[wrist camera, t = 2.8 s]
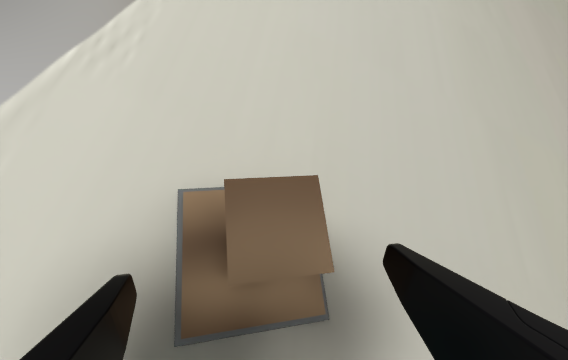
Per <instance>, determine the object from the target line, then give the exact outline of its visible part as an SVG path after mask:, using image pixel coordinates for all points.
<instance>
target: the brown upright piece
mask: <svg viewBox="0 0 568 360" xmlns="http://www.w3.org/2000/svg"><path fill="white" fill-rule="evenodd" d="M224 189H225V190H211V191H192V192H183V243H182V306H181V339H185V338H191V337H196V336H202V335H208V334H214V333H220V332H226V331H231V330H237V329H243V328H249V327H255V326H261V325H266V324H272V323H278V322H284V321H290V320H295V319H301V318H307V317H313V316H319V315H325V314H326V313H325V306H324V300H323V293H322V286H321V280H320V274H323V273H331V272H334V267H333V261H332V255H331V249H330V243H329V238H328V232H327V226H326V220H325V214H324V208H323V202H322V196H321V190H320V184H319V179H318V175H313V176H291V177H268V178H245V179H224Z"/></svg>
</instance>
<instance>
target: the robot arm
mask: <svg viewBox="0 0 568 360" xmlns="http://www.w3.org/2000/svg"><path fill="white" fill-rule="evenodd" d="M383 266H384V268H385V270H386V272H387V275H388V277H389V279H390V281H391V283H392V285H393V287H394V289H395V291H396V293H397V296H398V298H399V300H400V302H401V304H402V305H403V307H404V309H405V311H406V312H407V314H408V316H409V317H410V319H411V321H412V322H413V324H414V326H415V327H416V329H417V331H418V333H419V334H420V336H421V338H422V339H423V341H424V343H425V344H426V346H427V348H428V349H429V351H430V353H431V354H432V356H433V358H434V359H435V360H568V330H567V329H565V328H562V327H560V326H558V325H556V324H554V323H552V322H550V321H548V320H546V319H544V318H542V317H540V316H538V315H536V314H534V313H532V312H530V311H528V310H526V309H524V308H522V307H520V306H518V305H516V304H514V303H512V302H510V301H508V300H506V299H505V298H503V297H501V296H499V295H497V294H495V293H493V292H491V291H489V290H487V289H485V288H483V287H482V286H480V285H478V284H476V283H474V282H472V281H470V280H468V279H466V278H464V277H462V276H460V275H458V274H457V273H455V272H453V271H451V270H449V269H447V268H445V267H443V266H441V265H439V264H437V263H435V262H434V261H432V260H430V259H428V258H426V257H424V256H422V255H420V254H418V253H416V252H414V251H412V250H411V249H409V248H407V247H405V246H403V245H401V244H398V243H396V244H389V245H388V246H387V248H386V251H385V255H384V258H383ZM136 297H137V294H136V289H135V286H134V282H133V279H132V276H131V275H130V274H122V275H116V276H114V277H113V278H111V279H110V280H109V281H108V282H107V283H106V284H105V285H104V286H102V287H101V288H100V289H99V290H98V291H97V292H96V293H95V294H93V295H92V296H91V297H90V298H89V299H88V300H87V301H85V302H84V303H83V304H82V305H81V306H80V307H79V308H78V309H76V310H75V311H74V312H73V313H72V314H71V315H70V316H69V317H67V318H66V319H65V320H64V321H63V322H62V323H61V324H59V325H58V326H57V327H56V328H55V329H54V330H53V331H52V332H50V333H49V334H48V335H47V336H46V337H45V338H44V339H42V340H41V341H40V342H39V343H38V344H37V345H36V346H35V347H33V348H32V349H31V350H30V351H29V352H28V353H27V354H26V355H24V356H23V357H22V358H21V359H20V360H123V357H124V353H125V350H126V345H127V341H128V336H129V332H130V327H131V322H132V317H133V313H134V308H135V303H136Z"/></svg>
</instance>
